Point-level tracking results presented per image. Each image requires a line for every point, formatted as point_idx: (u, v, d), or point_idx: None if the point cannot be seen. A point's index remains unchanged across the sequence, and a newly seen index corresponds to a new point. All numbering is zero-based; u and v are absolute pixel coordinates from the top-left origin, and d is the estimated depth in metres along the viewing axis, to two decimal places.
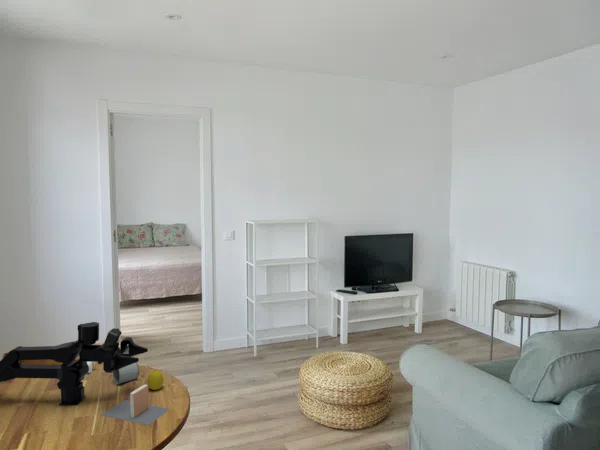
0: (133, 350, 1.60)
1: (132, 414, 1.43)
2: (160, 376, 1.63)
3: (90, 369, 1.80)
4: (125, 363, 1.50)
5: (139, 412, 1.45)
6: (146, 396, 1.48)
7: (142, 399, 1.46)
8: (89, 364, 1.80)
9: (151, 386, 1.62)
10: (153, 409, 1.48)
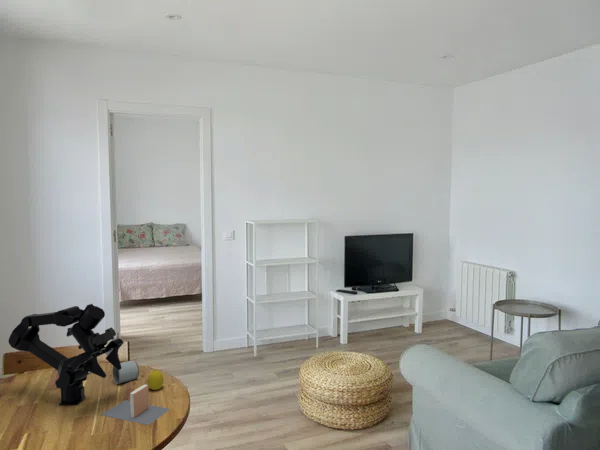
0: (111, 358, 1.54)
1: (132, 414, 1.43)
2: (160, 376, 1.63)
3: None
4: (93, 370, 1.46)
5: (139, 412, 1.45)
6: (146, 396, 1.48)
7: (142, 399, 1.46)
8: None
9: (151, 386, 1.62)
10: (153, 409, 1.48)
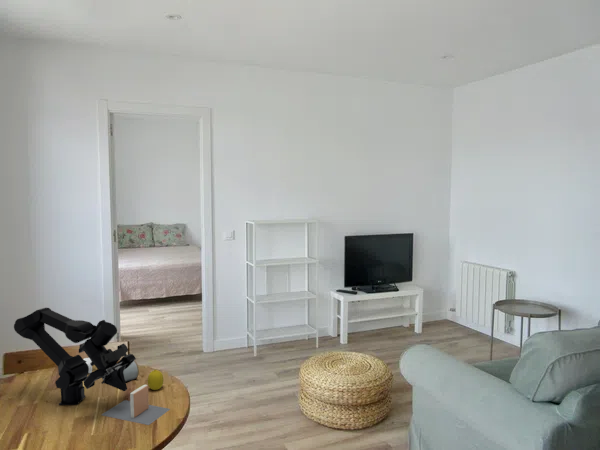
0: None
1: (132, 414, 1.43)
2: (160, 376, 1.63)
3: (90, 369, 1.80)
4: (114, 384, 1.47)
5: (139, 412, 1.45)
6: (146, 396, 1.48)
7: (142, 399, 1.46)
8: (89, 364, 1.80)
9: (151, 386, 1.62)
10: (153, 409, 1.48)
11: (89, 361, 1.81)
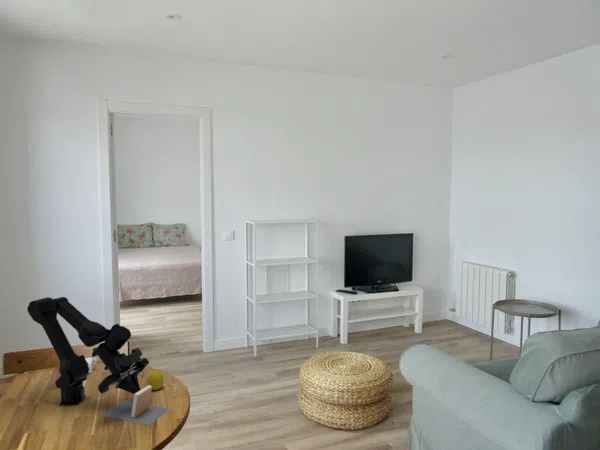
0: None
1: (133, 414, 1.43)
2: (160, 376, 1.63)
3: (90, 369, 1.80)
4: (128, 388, 1.46)
5: (140, 412, 1.45)
6: (149, 397, 1.48)
7: (144, 400, 1.46)
8: (89, 364, 1.80)
9: None
10: (153, 409, 1.48)
11: (89, 361, 1.81)
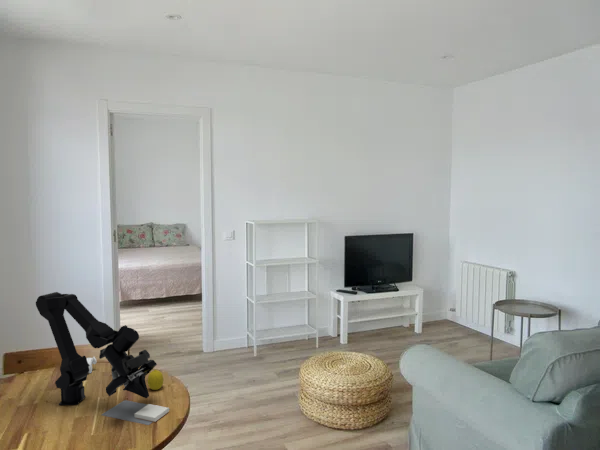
0: None
1: (137, 416, 1.42)
2: (160, 376, 1.63)
3: (90, 369, 1.80)
4: (135, 391, 1.45)
5: None
6: None
7: None
8: (89, 364, 1.80)
9: (151, 386, 1.62)
10: None
11: (89, 361, 1.81)
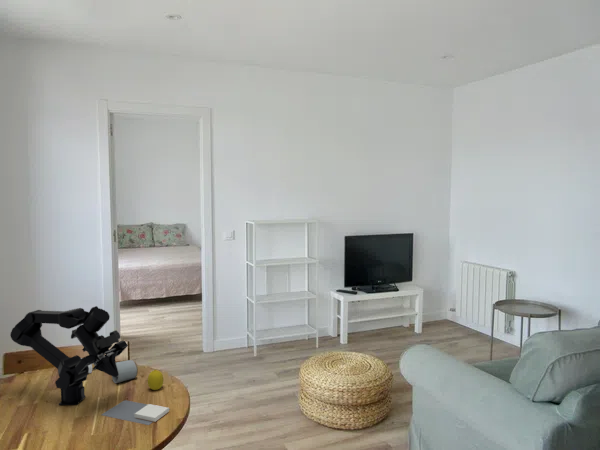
0: None
1: (137, 416, 1.42)
2: (160, 376, 1.63)
3: (90, 369, 1.80)
4: (105, 370, 1.48)
5: None
6: None
7: None
8: None
9: (151, 386, 1.62)
10: None
11: None
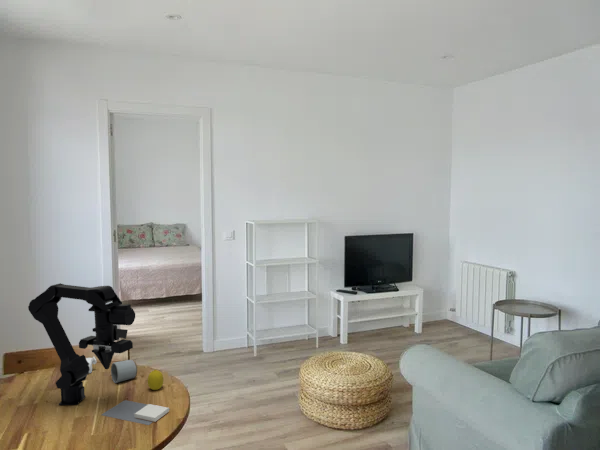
0: None
1: (137, 416, 1.42)
2: (160, 376, 1.63)
3: (90, 369, 1.80)
4: (107, 358, 1.50)
5: None
6: None
7: None
8: (89, 364, 1.80)
9: (151, 386, 1.62)
10: None
11: (89, 361, 1.81)
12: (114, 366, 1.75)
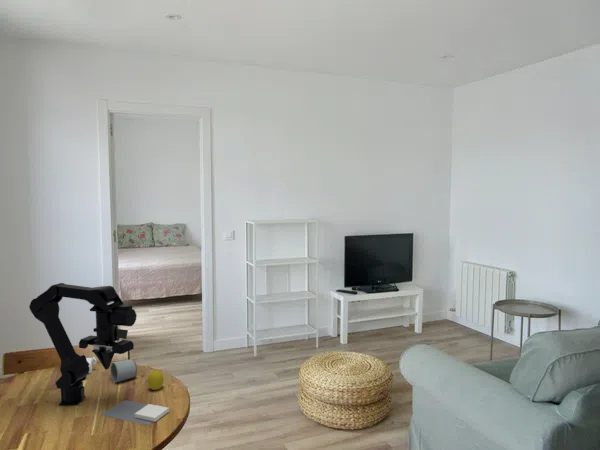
0: None
1: (137, 416, 1.42)
2: (160, 376, 1.63)
3: (90, 369, 1.80)
4: (108, 359, 1.50)
5: None
6: None
7: None
8: None
9: (151, 386, 1.62)
10: None
11: (89, 361, 1.81)
12: (114, 366, 1.75)
